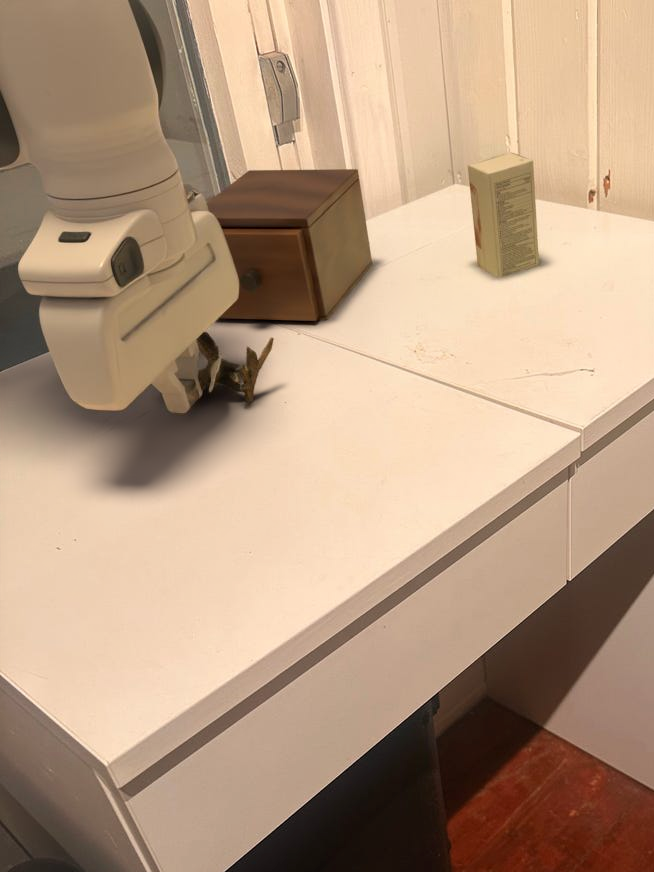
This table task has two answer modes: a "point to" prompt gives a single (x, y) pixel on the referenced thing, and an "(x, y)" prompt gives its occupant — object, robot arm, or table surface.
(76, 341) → the robot arm
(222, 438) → the table surface
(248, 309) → the drawer
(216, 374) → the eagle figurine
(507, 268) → the tall printed carton
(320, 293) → the cabinet
